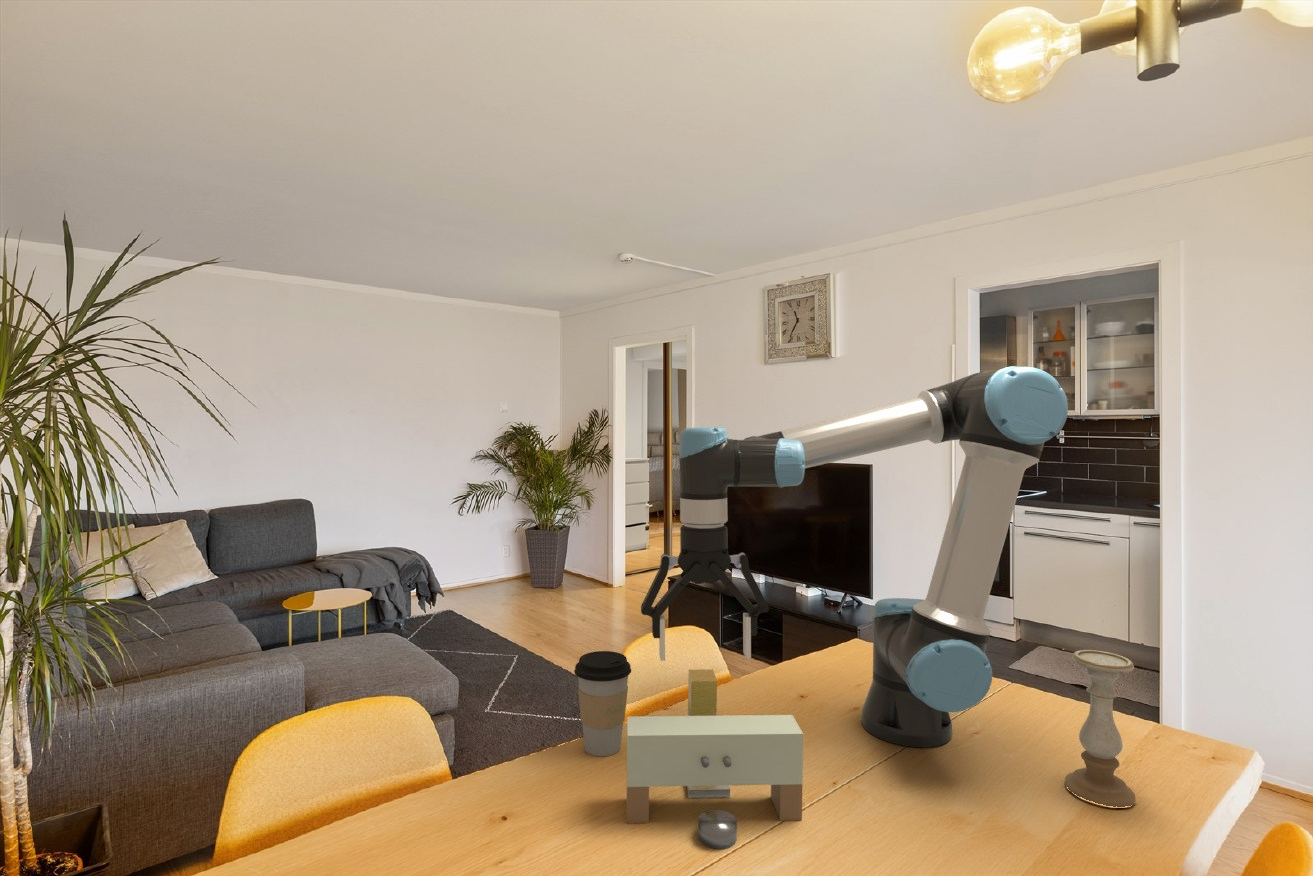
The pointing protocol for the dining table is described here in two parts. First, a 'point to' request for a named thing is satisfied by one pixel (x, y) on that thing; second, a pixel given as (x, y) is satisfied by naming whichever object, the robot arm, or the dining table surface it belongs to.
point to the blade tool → (704, 704)
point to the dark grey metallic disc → (717, 829)
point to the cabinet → (715, 757)
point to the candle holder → (1101, 733)
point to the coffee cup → (602, 700)
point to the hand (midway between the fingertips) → (704, 657)
